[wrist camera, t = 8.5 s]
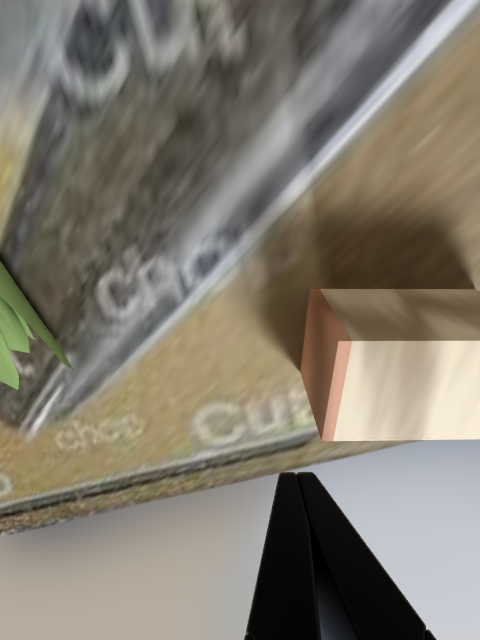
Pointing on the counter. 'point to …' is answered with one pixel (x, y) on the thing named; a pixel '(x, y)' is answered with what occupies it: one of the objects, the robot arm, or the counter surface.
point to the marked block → (393, 363)
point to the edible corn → (18, 328)
